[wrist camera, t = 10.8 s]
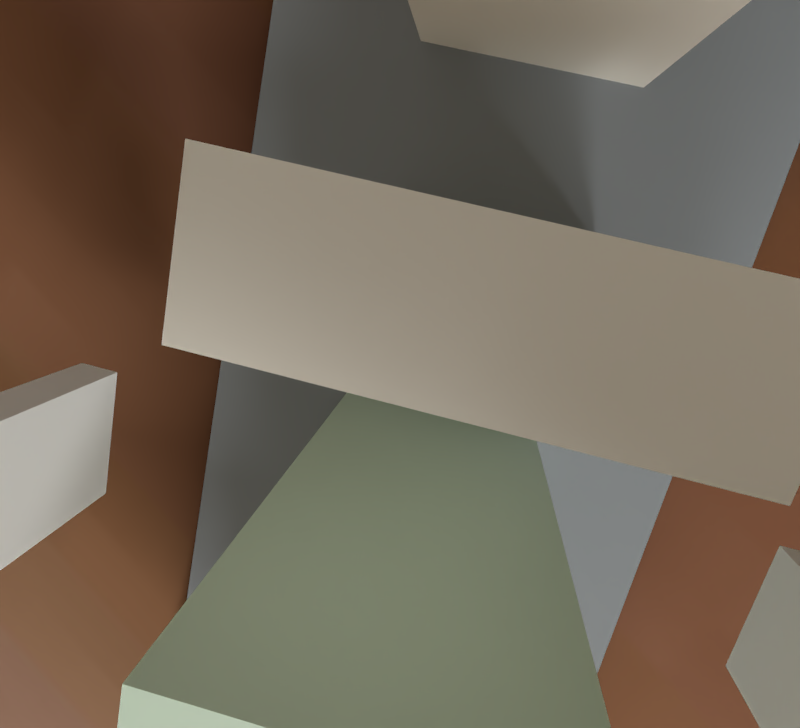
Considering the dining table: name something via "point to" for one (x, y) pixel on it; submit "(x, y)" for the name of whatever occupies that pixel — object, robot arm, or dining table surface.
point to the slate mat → (519, 194)
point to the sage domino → (383, 593)
